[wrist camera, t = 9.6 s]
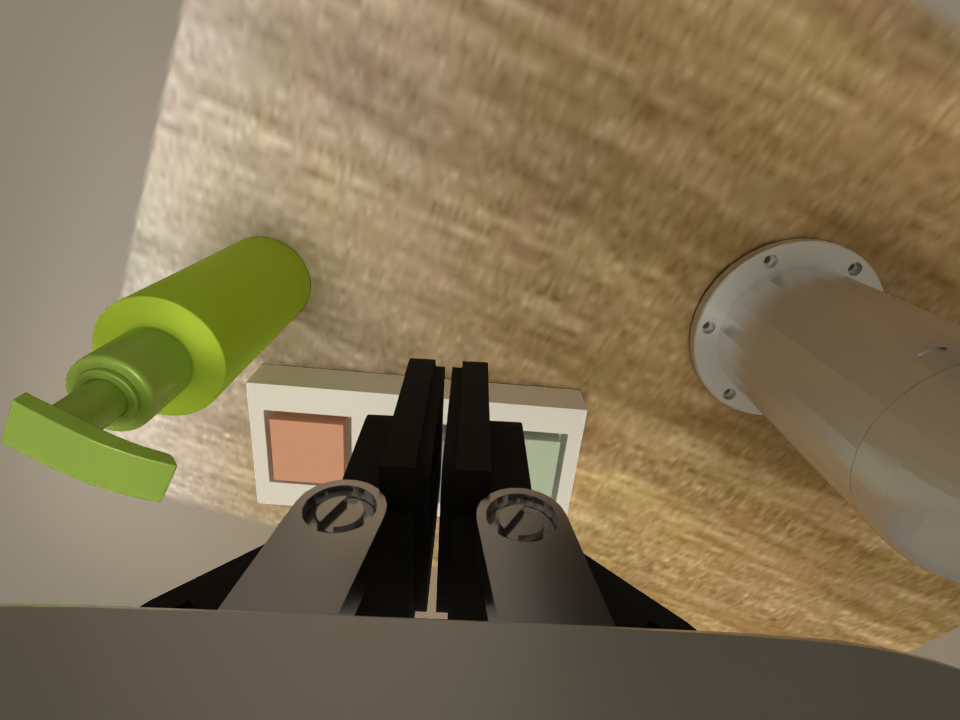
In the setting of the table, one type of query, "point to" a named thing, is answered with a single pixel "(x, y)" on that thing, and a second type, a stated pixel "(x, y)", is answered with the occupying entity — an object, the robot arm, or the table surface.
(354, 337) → the table surface
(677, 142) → the table surface
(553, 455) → the sage button
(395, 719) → the robot arm
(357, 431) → the button panel
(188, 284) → the soap dispenser
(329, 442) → the terracotta button
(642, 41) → the table surface
